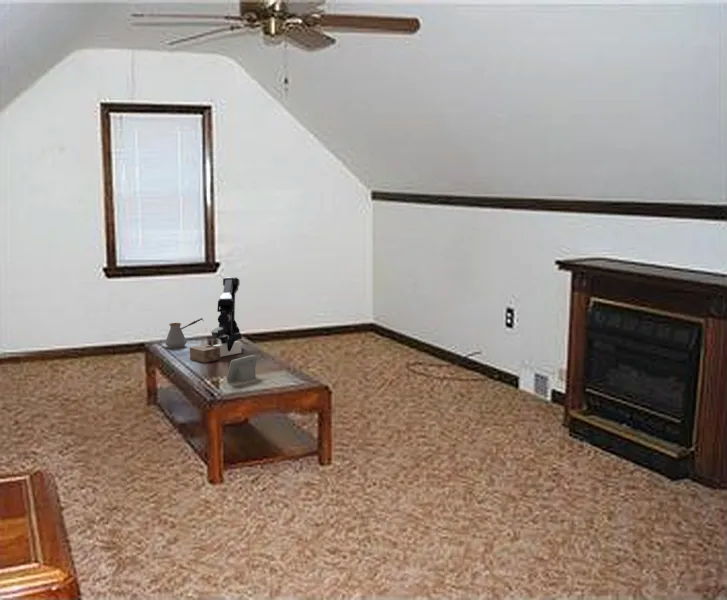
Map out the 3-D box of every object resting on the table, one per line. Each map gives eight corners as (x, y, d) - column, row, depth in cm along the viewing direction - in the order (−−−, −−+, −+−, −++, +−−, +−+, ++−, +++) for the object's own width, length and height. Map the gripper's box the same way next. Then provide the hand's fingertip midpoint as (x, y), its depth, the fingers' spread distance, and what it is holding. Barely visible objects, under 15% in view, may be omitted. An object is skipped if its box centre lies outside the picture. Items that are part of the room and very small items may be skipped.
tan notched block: (206, 355, 413) (206, 344, 412) (220, 359, 405) (219, 347, 404) (190, 358, 406) (189, 347, 405) (204, 362, 398) (203, 350, 397)
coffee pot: (167, 349, 427) (166, 322, 425) (163, 345, 438) (162, 319, 435) (206, 346, 436) (205, 319, 433) (202, 342, 446) (201, 316, 444)
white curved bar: (237, 351, 423) (237, 340, 422) (241, 352, 421) (241, 341, 420) (207, 357, 409) (207, 346, 408) (211, 358, 407) (210, 347, 406)
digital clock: (252, 374, 374) (251, 352, 372) (263, 378, 367) (262, 356, 365) (222, 380, 363) (221, 358, 362) (232, 384, 357) (232, 361, 355)
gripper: (202, 321, 414) (204, 350, 416) (224, 325, 401) (225, 356, 403) (220, 318, 422) (221, 347, 424) (242, 322, 409) (243, 352, 411)
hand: (227, 350), depth 416 cm, fingers closed on white curved bar, 3 cm apart
